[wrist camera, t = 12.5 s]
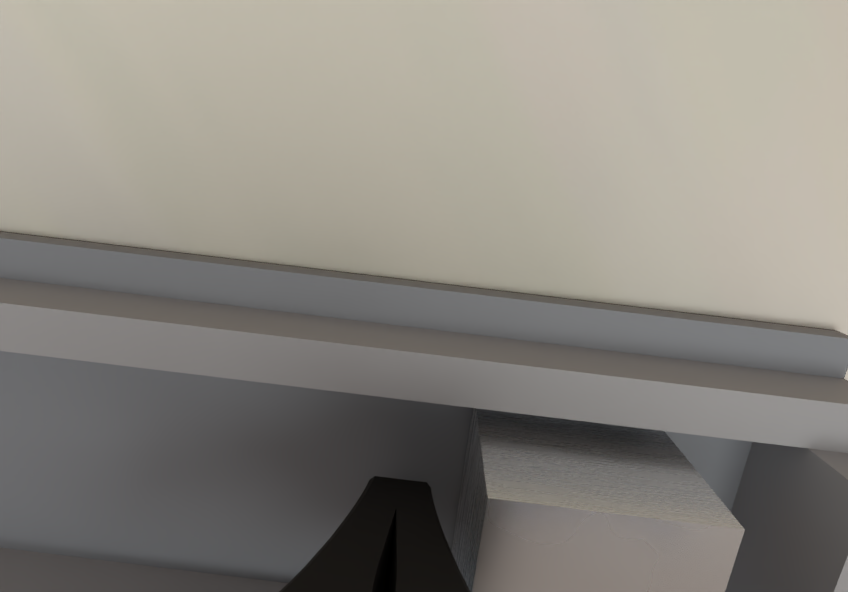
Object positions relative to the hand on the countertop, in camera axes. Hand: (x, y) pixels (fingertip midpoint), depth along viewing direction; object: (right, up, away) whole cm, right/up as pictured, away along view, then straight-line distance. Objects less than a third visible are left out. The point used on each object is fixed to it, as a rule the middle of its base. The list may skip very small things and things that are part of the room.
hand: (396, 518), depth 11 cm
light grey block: (+3, 0, +2) cm, 4 cm away
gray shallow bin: (-2, +1, +2) cm, 3 cm away
